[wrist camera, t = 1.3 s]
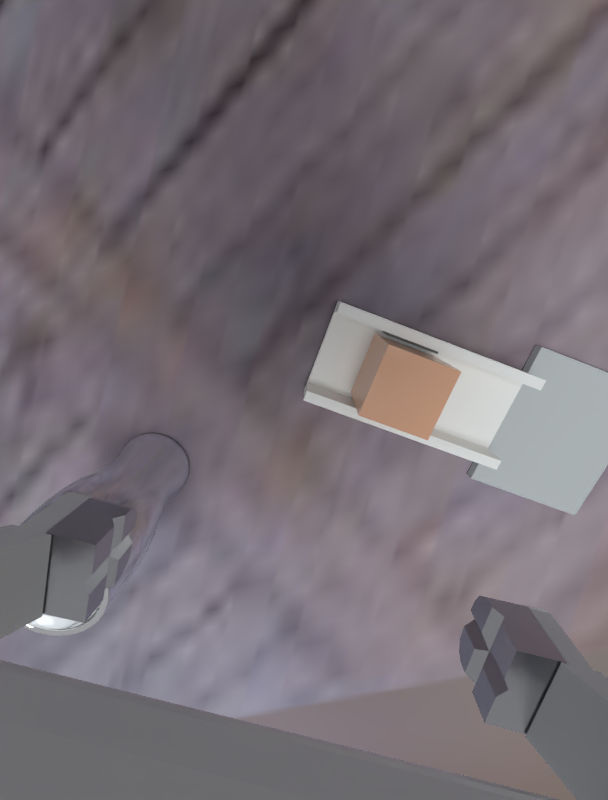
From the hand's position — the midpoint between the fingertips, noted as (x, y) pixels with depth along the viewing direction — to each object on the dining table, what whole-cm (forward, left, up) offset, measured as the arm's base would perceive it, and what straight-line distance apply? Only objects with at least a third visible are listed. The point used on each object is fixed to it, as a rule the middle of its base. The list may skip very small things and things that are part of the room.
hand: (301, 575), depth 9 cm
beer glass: (+13, -10, -25) cm, 29 cm away
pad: (-2, +21, -24) cm, 32 cm away
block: (-2, +6, -23) cm, 24 cm away
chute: (-2, +8, -24) cm, 26 cm away
